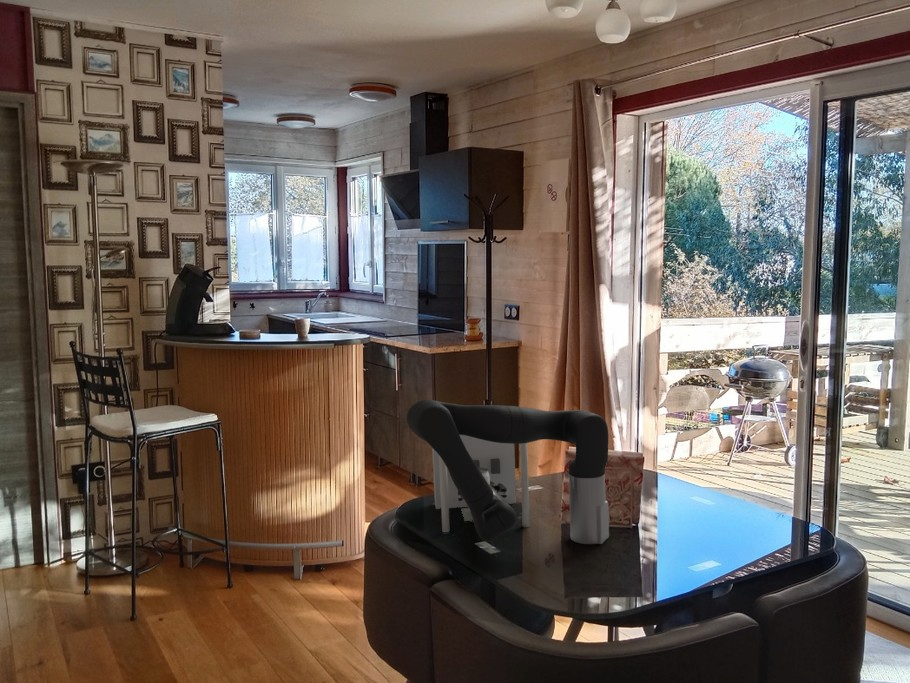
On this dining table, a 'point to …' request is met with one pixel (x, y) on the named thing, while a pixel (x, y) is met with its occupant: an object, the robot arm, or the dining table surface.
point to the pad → (467, 514)
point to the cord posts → (523, 490)
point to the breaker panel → (484, 456)
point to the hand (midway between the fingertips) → (477, 484)
